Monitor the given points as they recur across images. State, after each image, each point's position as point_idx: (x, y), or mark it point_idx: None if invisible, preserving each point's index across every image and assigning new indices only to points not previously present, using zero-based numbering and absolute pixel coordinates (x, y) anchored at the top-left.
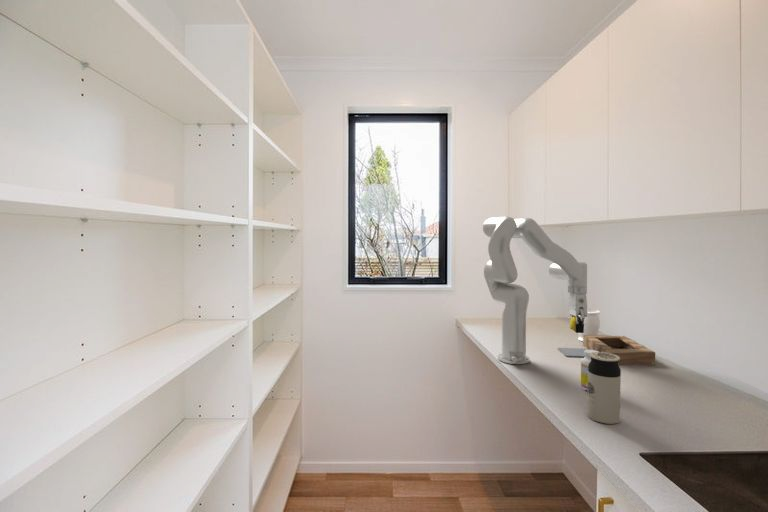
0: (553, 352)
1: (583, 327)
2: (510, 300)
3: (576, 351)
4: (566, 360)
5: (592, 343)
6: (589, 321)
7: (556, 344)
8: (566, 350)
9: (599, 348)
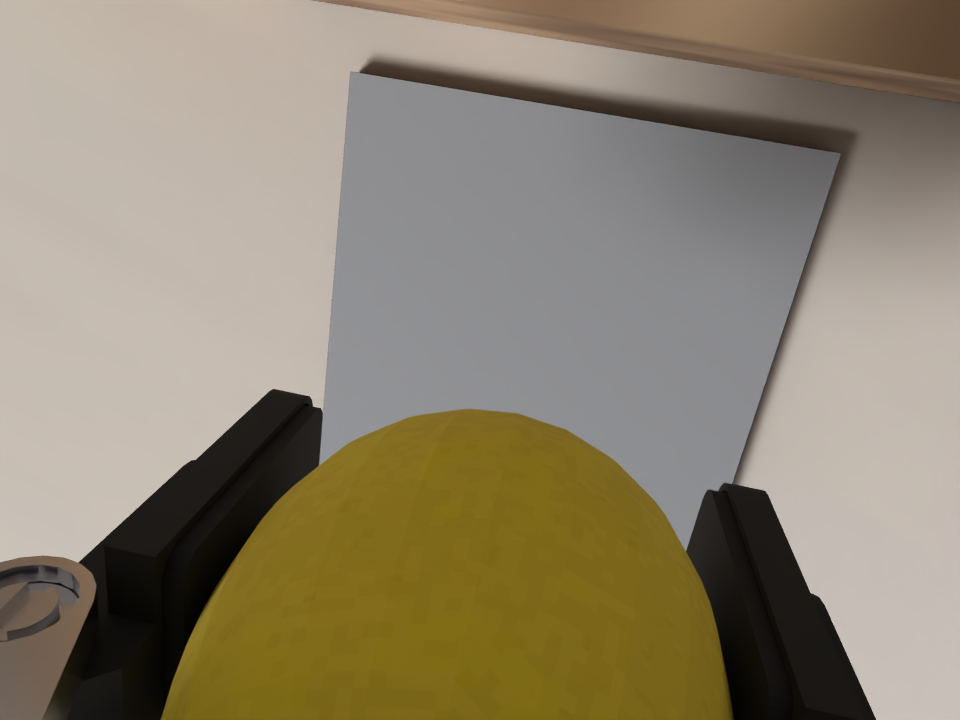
0: None
1: (805, 601)
2: None
3: (520, 321)
4: (849, 626)
5: (498, 13)
6: None
7: (94, 372)
8: None
9: (905, 78)
